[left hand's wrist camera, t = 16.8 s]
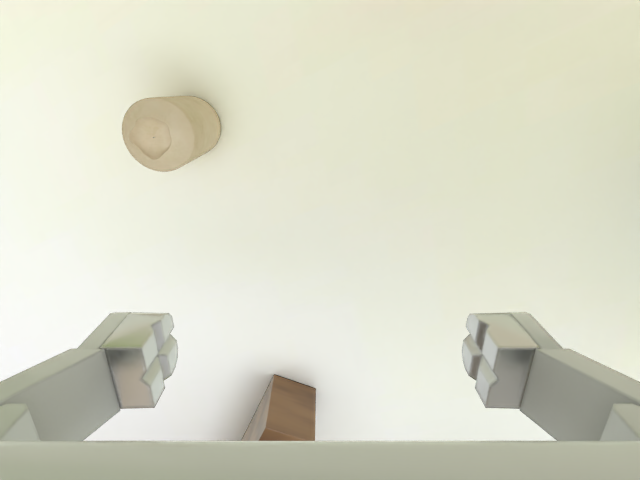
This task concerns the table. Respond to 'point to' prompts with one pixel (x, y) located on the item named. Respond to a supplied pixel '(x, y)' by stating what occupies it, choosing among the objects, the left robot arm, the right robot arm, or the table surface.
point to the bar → (284, 413)
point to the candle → (170, 131)
